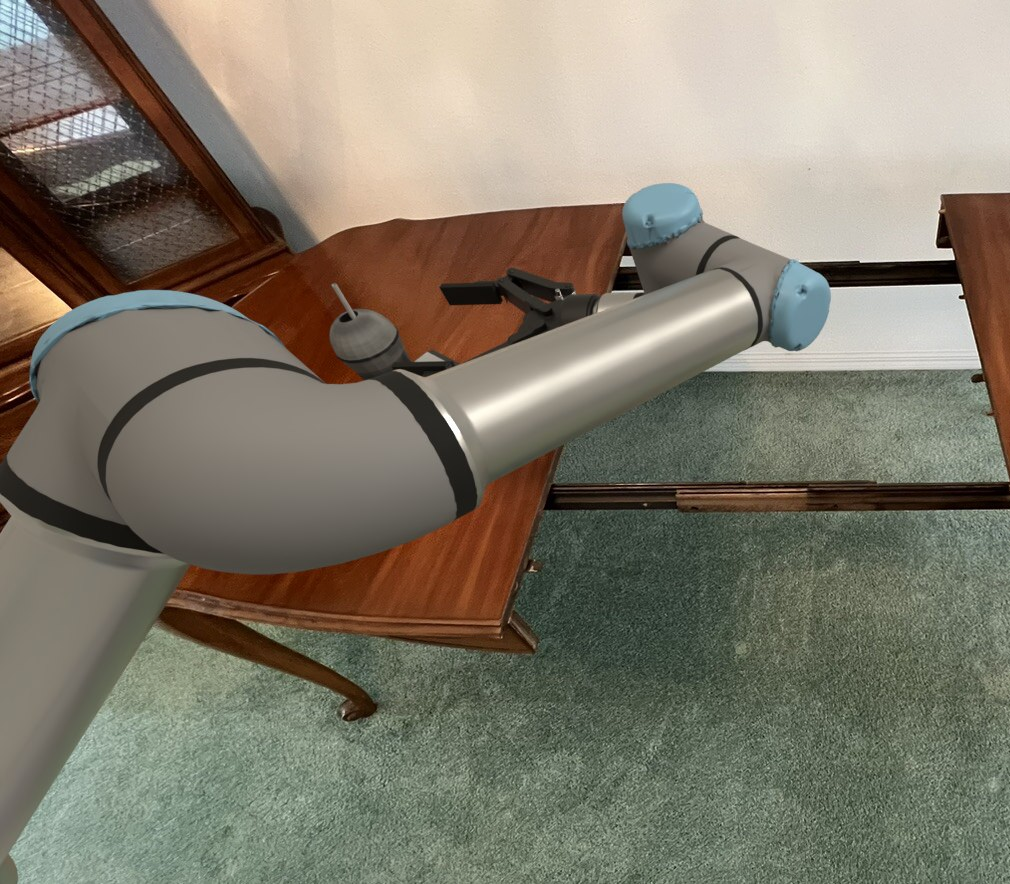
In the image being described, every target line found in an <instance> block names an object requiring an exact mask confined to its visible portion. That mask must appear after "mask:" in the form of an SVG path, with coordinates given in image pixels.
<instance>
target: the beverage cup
mask: <svg viewBox="0 0 1010 884" xmlns="http://www.w3.org/2000/svg"><path fill="white" fill-rule="evenodd" d="M331 287H332V289H333V291H334V293H335V294H336V296H337V297H338V299H339V300H340V302H341V305H343V307H344V308H345V311H344V312H342V313H340V314H339V315H338V316H337V317H336V318H335V319H334V321H333V322H332V324H331V326H330V329H329V342H330V344H331V347H332V349H333V351H334V353H335V356H336V358H337V360H339V361H341V362H342V363H343V364H344V365H346V366H347V367H348V368H349V369H350V370H352V371H354V372H355V374H357V375H358V376H359V377H360V379H362V381H365V380H368V379H371V378H374V377H377V376H380V375H383V374H385V373H388V372H391V371H394V370H393V369H392V365H393V363H394V362H413V361H412V359H411V358H410V356H409V354H408V352H407V351H406V349H405V346H404V345H405V344H404V342H403V339H402V337H401V335H400V330H399V329H398V327H397V326H396V325H394V323H392V322H391V320H390V319H388V318H387V317H386V316H384V315H382V314H381V313H379V312H377V311H374V310H371V309H365V308H354V309H353V308H352V307H351V305H350V304H349V302H348V301H347V299H346V297H345V295H344V294H343V292H342V290H341V289H340V287H339V286H338V284H337V283H332V284H331Z"/></svg>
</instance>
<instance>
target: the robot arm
mask: <svg viewBox="0 0 1010 884" xmlns="http://www.w3.org/2000/svg"><path fill="white" fill-rule="evenodd" d="M621 211H622V212H621V213H622V215H621V216H622V220H623V224H624V229H625V235H626V237H627V239H626V244H627V247H628V248H629V251H630V254H631V257H632V260H633V264H634V265H635V266H634V267H635V269H636V272H637V276H638V278H639V282H640V285H641V287H642V290H643V292H605V293H603V294H602V295H600V294H598V293H578V294H577V291H576V289H575V286H574V284H573V283H572V282H563V281H562V282H561V281H559V282H558V281H555V280H551V279H548V278H546V277H542V276H539V275H536V274H534V273H531V272H527V271H524V270H522V269H518V268H516V267H510V268H508V269H506V271H505V273H506V275H505V276H502V277H497V279H496V280H477V281H473V282H455V283H453V282H452V283H449V282H448V283H441V284H440V285H439V290H440V292H441V293H442V295H443V296H444V299H445V300H446V301H447V303H448V305H449V306H480V305H484V306H485V305H502V303H503V301H504V300H505V302H506V304H509V303H510V304H511V305H513V306H514V307H515V308H517V309H518V310H520V311H521V312H522V313H524V316H523V318H522V323H521V324H520V325H519V327H518V329H517V331H516V332H514V333H513V334H510V335H509V336H508V337H507V340H506V341H505V342H503V343H501V344H498V345H497V346H494V347H493V348H490V349H488V350H486V351H484V352H482V353H480V354H478V355H475V356H474V357H471V358H470V359H467V360H465V361H463V362H461V363H460V364H459V365H457V366H455V364H454V363H453V361H428V362H414V361H412V362H394V363H393V365H392V369H393V370H394V371H391V372H388V373H385V374H383V375H380V376H377V377H374V378H371V379H368V380H365V381H364V380H361V381H357V382H351V383H341V384H340V383H327V382H325V381H324V380H322V379H321V378H320V377H319V376H318V375H317V374H316V373H314V372H313V371H312V370H311V369H310V368H309V367H307V365H306V364H305V363H303V362H302V361H301V360H300V359H299V358H298V357H296V356H295V355H294V354H293V353H292V352H291V351H290V350H288V349H287V348H286V346H285V345H284V343H283V342H282V340H280V339H279V338H278V337H277V335H276V334H275V333H273V332H272V331H271V330H269V328H267V327H266V326H265V325H263V324H261V323H258V322H256V321H254V320H252V319H249V318H248V317H247V316H245V314H243V313H241V312H240V311H238V310H236V309H234V308H233V307H231V306H229V305H227V304H224V303H222V302H220V301H217V300H215V299H213V298H209V297H206V296H203V295H199V294H195V293H191V292H190V293H189V292H184V291H176V290H169V289H167V290H166V289H143V290H141V289H140V290H135V291H128V292H122V293H119V294H115V295H105V296H102V297H99V298H95V299H93V300H90V301H88V302H86V303H83V304H81V305H79V306H77V307H75V308H73V309H71V310H70V311H68V312H66V313H64V314H63V315H62V316H60V317H59V318H58V319H56V320H55V321H53V323H52V324H51V325H50V326H49V327H48V328H47V329H46V330H45V331H44V332H43V333H42V335H41V336H40V337H39V339H38V341H37V343H36V345H35V347H34V348H33V351H32V353H31V354H32V355H31V360H30V368H29V380H28V382H29V389H30V392H31V393H32V395H33V398H34V399H35V401H36V402H37V403H38V404H37V406H36V408H35V410H34V411H33V413H32V414H31V415H30V418H29V419H28V420H27V422H26V423H25V425H24V427H22V430H21V431H20V433H19V434H18V436H17V438H16V439H15V440H14V442H13V443H12V445H11V447H10V448H9V450H8V451H7V453H6V454H5V457H4V458H3V459H2V461H1V463H0V504H1V505H2V506H3V508H4V509H5V510H6V511H7V512H8V514H9V515H10V518H8V521H7V522H6V523H5V525H4V527H3V529H2V530H1V532H0V884H18V883H19V871H18V868H17V865H16V863H15V860H14V859H13V857H12V856H11V854H10V853H11V851H12V850H13V847H14V846H15V845H16V842H17V841H18V839H19V838H20V836H21V834H22V833H23V832H24V830H25V829H26V827H27V825H28V823H29V822H30V820H31V819H32V817H34V814H35V812H36V811H37V810H38V808H39V806H40V805H41V804H42V802H43V800H44V798H46V796H47V794H48V792H49V791H50V789H51V787H52V786H53V785H54V783H55V781H56V780H57V778H58V776H59V775H60V773H61V771H62V770H63V769H64V767H65V765H66V764H67V762H68V760H69V759H70V757H71V755H72V754H73V753H74V751H75V749H76V748H77V746H78V745H79V743H80V742H81V740H82V738H83V736H84V735H85V734H86V732H87V730H88V729H89V727H90V726H91V724H92V723H93V721H94V719H95V718H96V716H97V715H98V713H99V712H100V711H101V708H102V707H103V705H104V703H105V702H106V701H107V699H108V697H109V695H110V694H111V692H112V691H113V689H114V688H115V686H116V685H117V683H118V681H119V680H120V678H121V677H122V675H123V674H124V672H125V670H126V669H127V667H128V666H129V665H130V662H131V661H132V659H133V658H134V656H135V655H136V653H137V651H138V650H139V648H140V647H141V645H142V644H143V642H144V641H145V639H146V637H147V635H148V634H149V633H150V631H151V629H152V628H153V627H154V625H155V623H156V622H157V620H158V618H159V617H160V615H161V613H162V612H163V611H164V609H165V607H166V606H167V604H168V603H169V601H170V599H171V598H172V596H173V595H174V593H175V591H176V589H178V587H179V585H180V583H181V582H182V580H183V579H184V578H185V576H186V575H187V572H188V571H189V570H190V568H191V567H192V566H195V567H197V568H200V569H204V570H210V571H214V572H222V573H230V574H240V575H252V576H254V575H255V576H256V575H259V576H260V575H279V574H280V575H281V574H291V573H300V572H304V571H310V570H315V569H320V568H327V567H331V566H336V565H337V566H338V565H341V564H344V563H350V562H353V561H357V560H359V559H363V558H367V557H370V556H372V555H373V556H374V555H376V554H380V553H382V552H386V551H389V550H391V549H394V548H397V547H400V546H402V545H405V544H408V543H411V542H414V541H416V540H418V539H420V538H422V537H425V536H427V535H429V534H431V533H433V532H436V531H437V530H440V529H441V528H444V527H445V526H448V525H449V524H451V523H453V522H455V521H456V520H458V519H461V518H462V517H464V516H466V515H468V514H470V513H471V512H473V511H475V510H477V509H479V507H481V504H482V502H483V499H484V494H485V491H486V488H487V486H488V485H489V484H491V483H493V482H496V481H497V480H499V479H501V478H503V477H504V476H507V475H508V474H510V473H513V472H514V471H517V470H518V469H521V468H522V467H524V466H526V465H528V464H530V463H532V462H533V461H535V460H537V459H539V458H542V457H543V456H545V455H547V454H549V453H551V452H552V451H555V450H556V449H559V448H560V447H562V446H564V445H567V443H570V442H572V441H574V440H576V439H578V438H579V437H582V436H583V435H585V434H587V433H589V432H591V431H593V430H594V429H597V428H598V427H601V426H602V425H605V424H606V423H609V422H610V421H612V420H614V419H616V418H618V417H620V416H622V415H624V414H625V413H627V412H629V411H631V410H633V409H635V408H637V407H639V406H641V405H643V404H645V403H646V402H648V401H650V400H652V399H654V398H656V397H658V396H660V395H662V394H663V393H666V392H668V391H669V390H671V389H673V388H674V387H677V386H679V385H681V384H682V383H685V382H686V381H688V380H691V379H692V378H694V377H696V376H698V375H699V374H701V373H704V372H706V371H707V370H709V369H712V368H713V367H715V366H718V365H720V364H721V363H723V362H724V361H726V360H728V359H731V358H733V357H734V356H736V355H739V354H740V353H743V352H744V351H747V350H748V349H751V348H753V347H755V346H757V345H759V344H761V343H763V342H768V343H769V344H770V345H771V346H772V347H774V348H775V349H776V348H781V349H782V350H786V351H788V352H800V351H802V350H804V349H806V348H808V347H809V346H810V345H811V344H812V343H813V342H814V341H815V340H816V339H817V338H818V336H820V334H821V332H822V330H823V328H824V327H825V324H826V323H827V319H828V317H829V314H830V305H831V301H832V293H831V287H830V285H829V282H828V280H827V278H825V277H824V276H823V275H822V274H821V273H820V272H817V271H815V270H813V269H812V268H810V267H808V266H806V265H804V264H803V263H800V261H799V260H797V259H796V258H788V257H786V256H784V255H782V254H780V253H779V254H778V253H776V252H774V251H772V250H770V249H767V248H764V247H762V246H760V245H758V244H756V243H752V242H750V241H748V240H746V239H743V238H741V237H739V236H737V235H735V234H733V233H730V232H728V231H725V230H723V229H722V228H718V227H716V226H714V225H711V224H710V223H707V222H706V221H704V219H703V218H704V217H703V215H704V211H703V209H702V208H701V205H700V201H699V199H698V196H697V195H696V194H695V193H694V191H693V190H692V189H691V188H690V187H688V186H686V185H683V184H679V183H673V182H663V183H662V182H661V183H655V184H651V185H648V186H645V187H642V188H640V190H638V191H636V192H635V193H633V194H631V195H630V196H629V197H628V198H627V200H625V203H624V205H623V207H622V210H621ZM502 297H503V298H504V300H503V298H502ZM543 300H544V301H543ZM545 301H547V302H549V303H547V302H545Z"/></svg>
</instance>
